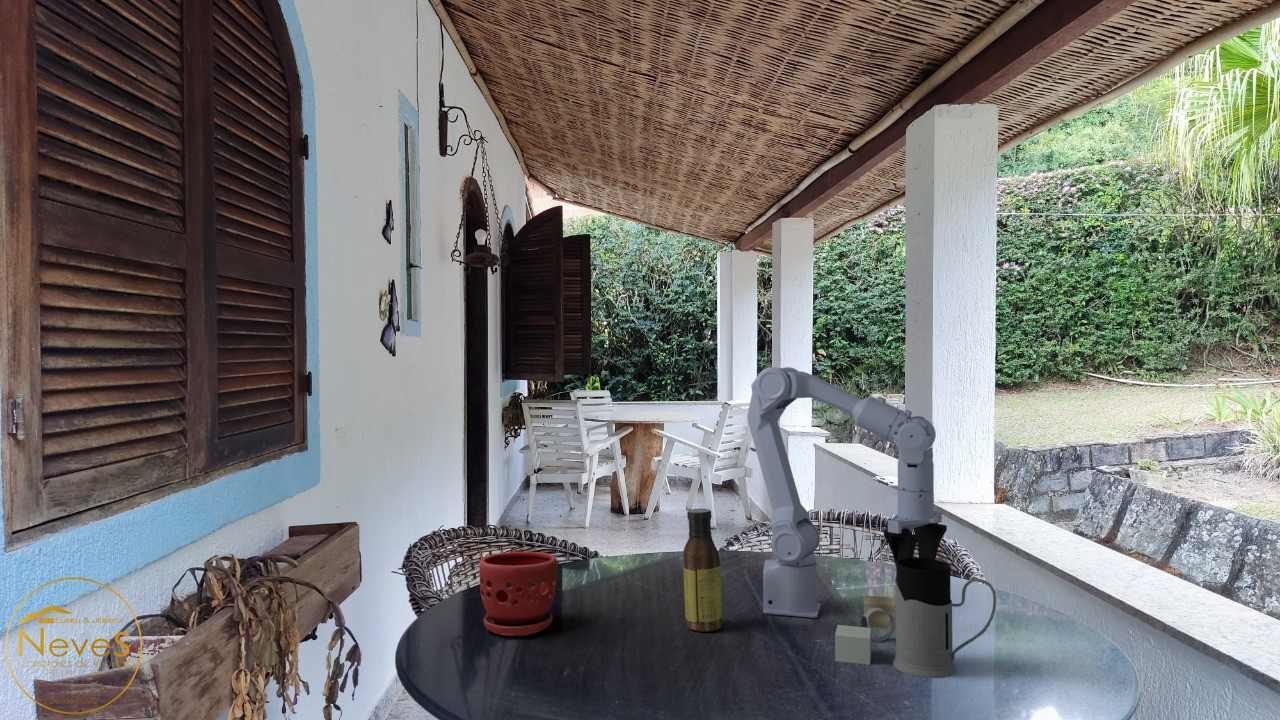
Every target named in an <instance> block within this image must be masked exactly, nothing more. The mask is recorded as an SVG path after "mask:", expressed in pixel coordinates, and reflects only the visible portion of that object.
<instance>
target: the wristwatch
mask: <svg viewBox="0 0 1280 720" xmlns="http://www.w3.org/2000/svg"><path fill="white" fill-rule="evenodd" d="M876 611H881V612H885V613H887V614H888V615H889V617H890V621H889V622H888V625H889V628H888V631H887V632H886V633H884V634H883V635H881V636H878V637H872V636H871V641H874V642H883V641H886V640H888V639H890V637H892V636H893V635H894V632H895V630H896V619H895V620H894V617H893V616H892V615H891V614H890V613H888V612H887V611H885V610H883V609H880V608H871V609H869V610H868V611H867V613H865V614H864V613H863V615H862V617H861V620H860V627H865V628H871V627H870V624H869V618H870V615H871V614H872V613H874V612H876Z"/></svg>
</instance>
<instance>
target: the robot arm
mask: <svg viewBox="0 0 1280 720" xmlns="http://www.w3.org/2000/svg"><path fill="white" fill-rule="evenodd" d="M750 386H751V396H750V402H749V404H748V405H749V406H748V411H747V414H746V415H747V416H746V417H747V424H748V426H749V430H750V434H751V437H752V441H753V444H754V448H755V452H756V455H757V459H758V463H759V466H760V469H761V474H762V476H763V480H764V484H765V489H766V491H767V495H768V499H769V502H770V506H771V510H772V515H771V520H770V529H771V534H772V536H771V540H770V541H771V543H770V547H771V551H772V553H773V555H774V556H775V559H765V561H764V565H763V577H762V579H763V580H762V584H763V586H762V587H763V589H762V590H763V591H762V592H763V596H762V597H763V606H762V607H763V610H762V613H763V614H766V615H767V614H768V615H778V616H787V617H788V616H789V617H790V616H791V617H800V618H812V619H813V618H814V619H815V618H818V616H819V612H820V609H821V608H822V607H821V606H822V605H821V602H820V603H819V602H817V599H818V598H817V597H818V593H817V592H818V591H817V586H818V585H817V584H818V583H817V557H816V556H815V551H816V550H817V549H818V548H819V545H820V542H821V536H820V535H821V534H820V533H819V529H818V528H817V526H815V524H814V523H813V522H812V520H811V519H810V514H809V512H808V510H806V508H805V507H804V506H803V504H802V503H801V499H800V495H799V492H798V489H797V486H796V482H795V479H794V474H793V472H792V468H791V464H790V461H789V457H788V454H787V450H786V447H785V444H784V439H783V436H782V432H781V430H780V426H779V420H780V418H781V417H782V415H783V414H784V412H785V410H786V409H787V407H788V406H790V405H791V404H792V403H793V402H795V401H796V400H797V399H805V398H810V399H814V400H816V401H818V402H821V403H822V404H826V405H827V406H830V407H832V408H835V409H836V410H839V411H841V412H844V413H846V414H848V415H851V416H852V417H853V420H854V422H855V424H856V426H857V427H858V428H860V429H862V430H864V431H867V432H869V433H871V434H873V435H874V436H875V435H876V436H877V437H880V438H882V439H884V440H886V441H888V442H890V443H891V442H894V444H895V446H896V447H897V449H898V461H897V514H895V515H894V517H892V518H891V519H888V520H887V528H886V529H884V530H883V537H884V539H885V540H886V543H887V544H888V545H889V548H890V550H891V554H892V557H893V560H894V564H895V565H894V566H896V562H897V561H898V560H900V559H905V558H915V557H914V555H915V550H916V547H917V552H918V553H917V555H918V558H927V559H934V560H937V555H938V550H939V547H940V545H941V542H942V540H943V537H944V536H945V534H946V532H947V529H948V526H947V525H946V524H942V519H943V518H942V516H943V515H942V514H943V512H942V511H941V510H935V509H934V507H935V506H934V502H935V501H934V498H935V497H934V496H935V495H934V491H935V490H934V488H935V487H934V485H935V484H934V483H935V482H934V480H935V478H934V472H935V471H934V469H935V468H934V462H933V457H934V453H933V447H932V446H933V444H934V443H935V440H936V437H937V434H936V432H937V431H936V429H935V426H934V425H933V423H931V422H930V421H929V420H927V419H926V418H925V417H924V416H921V415H920V416H919V415H917V416H916V415H915V416H912V414H913V412H912V411H910V410H908V409H905V411H904V410H902V409H901V408H897V407H896V406H893V405H892V404H889V403H887V402H886V401H887V398H885V397H882V396H881V395H880V396H877V397H874V396H868V397H865V398H863V399H861V398H859V397H857V396H855V395H853V394H852V393H850V392H847V391H845V390H843V389H842V388H839V387H837V386H836V385H834V384H831V383H830V382H828V381H826V380H824V379H822V378H820V377H818V376H816V375H814V374H810V373H808V372H805V371H802V370H797V369H796V368H794V367H789V366H785V367H771V366H770V367H767V368H764V369H763V370H761V371H760V372H759V373H758V374H757V376H756V378H755V379H754V381H752V383H751V385H750ZM939 523H941V524H939ZM909 530H913V533H911V531H909Z"/></svg>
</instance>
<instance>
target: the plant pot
mask: <svg viewBox="0 0 1280 720" xmlns="http://www.w3.org/2000/svg"><path fill="white" fill-rule="evenodd" d="M478 566H479V569H478V570H479V573H478V574H479V589H480V590H479V591H480V596H481V601H482V604H483V607H484V609H485V612H486V613H487V615H484V616H485V617H484V618H483V624H484V626H485V627H486V629H487V630H489V631H490V632H492V633H493V634H497V635H500V636H507V637H520V638H521V637H525V636H528V635H533V634H536V633H539V632H542V631H543V630H546V629H547V628H548V627H549V626H550V625H551V624H552V621H553V618H554V617H553V616H554V615H553V614H552V613H551V611H550V609H551V607H552V605H553V602H554V598H555V594H556V589H557V579H558V558H557V556H555V555H553V554H550V553H546V552H537V551H511V552H509V551H508V552H501V553H497V554H491V555H487V556H484V557H482V558H481V559H480V560H479V565H478ZM531 582H534V586H532V585H531ZM507 583H510V584H511V585H510V586H509V587H508V586H507Z"/></svg>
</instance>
